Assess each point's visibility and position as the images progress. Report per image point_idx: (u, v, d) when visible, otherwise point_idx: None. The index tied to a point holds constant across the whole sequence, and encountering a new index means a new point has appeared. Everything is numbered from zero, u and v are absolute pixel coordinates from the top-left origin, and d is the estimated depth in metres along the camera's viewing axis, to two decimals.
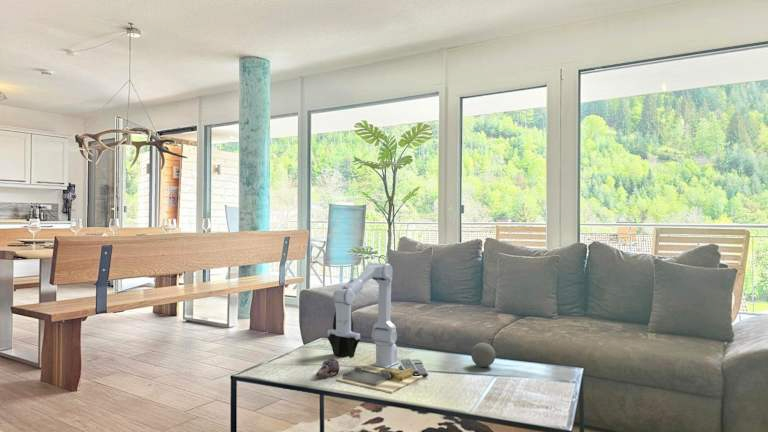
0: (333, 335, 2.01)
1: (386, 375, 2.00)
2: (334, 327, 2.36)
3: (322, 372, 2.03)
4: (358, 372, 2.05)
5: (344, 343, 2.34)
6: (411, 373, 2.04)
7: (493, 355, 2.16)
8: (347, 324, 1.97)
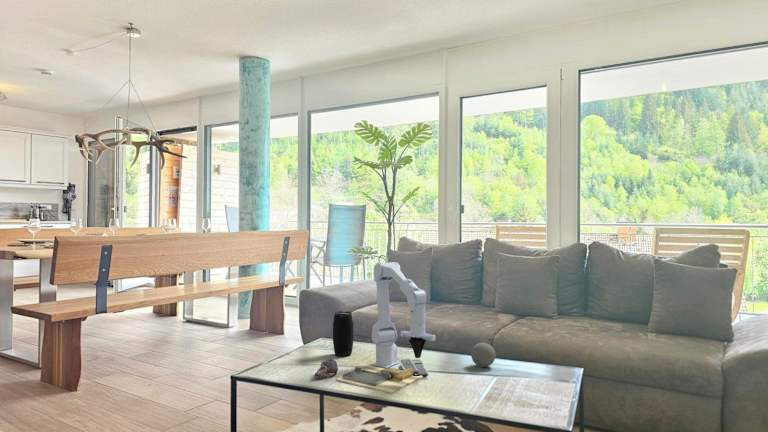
0: None
1: (386, 375, 2.00)
2: (334, 327, 2.36)
3: (321, 373, 2.02)
4: (358, 372, 2.05)
5: (344, 343, 2.34)
6: (411, 373, 2.04)
7: (493, 355, 2.16)
8: (422, 325, 1.97)
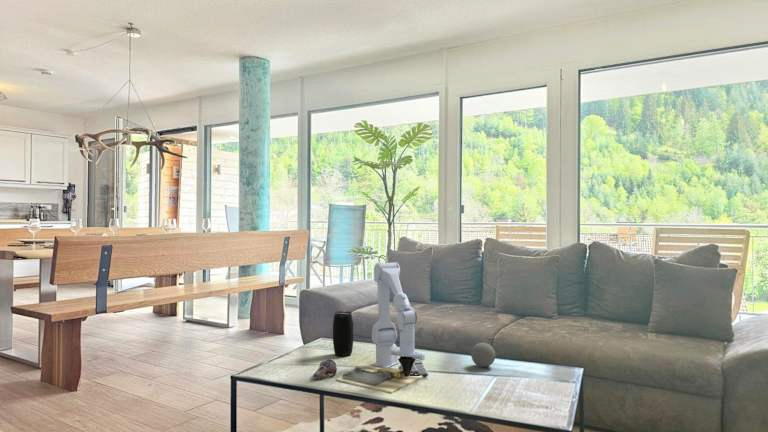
0: (396, 355, 2.04)
1: (386, 375, 2.00)
2: (334, 327, 2.36)
3: (319, 373, 2.02)
4: (358, 372, 2.05)
5: (344, 343, 2.34)
6: None
7: (493, 355, 2.16)
8: (411, 345, 2.00)
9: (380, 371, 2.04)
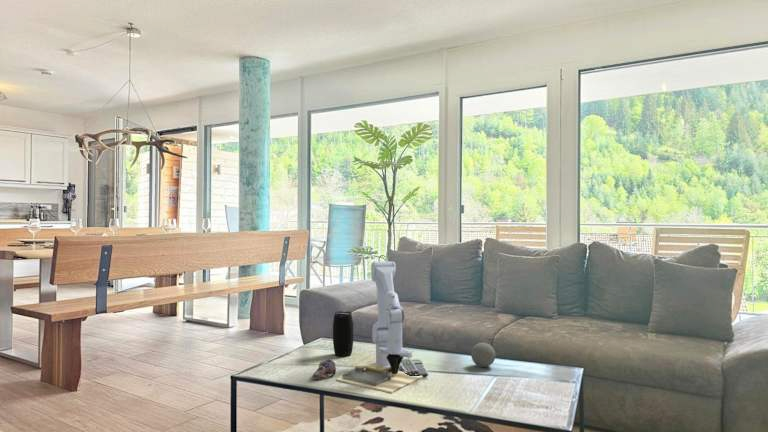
0: (384, 353, 2.07)
1: (386, 375, 2.00)
2: (334, 327, 2.36)
3: (319, 373, 2.01)
4: (358, 372, 2.05)
5: (344, 343, 2.34)
6: None
7: (493, 355, 2.16)
8: (399, 343, 2.03)
9: (368, 369, 2.07)
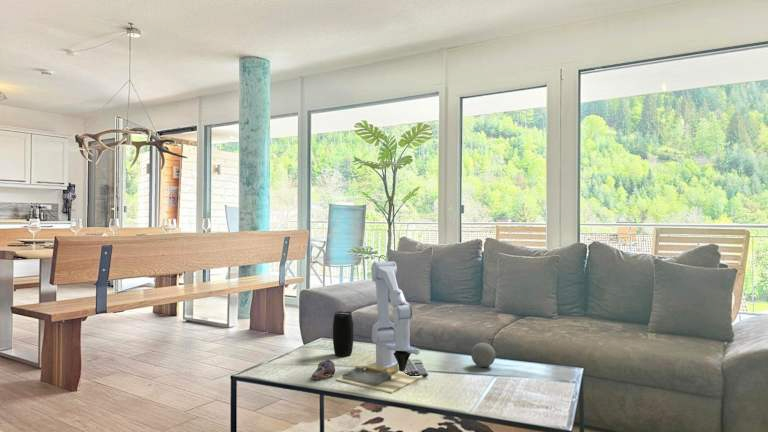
0: (391, 350, 2.05)
1: (386, 375, 2.00)
2: (334, 327, 2.36)
3: (318, 374, 2.01)
4: (358, 372, 2.05)
5: (344, 343, 2.34)
6: (395, 370, 2.08)
7: (493, 355, 2.16)
8: (406, 339, 2.01)
9: (368, 369, 2.07)
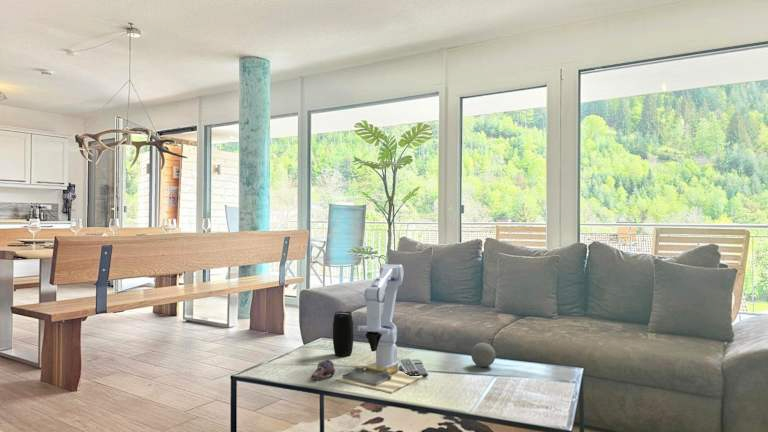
0: None
1: (386, 375, 2.00)
2: (334, 327, 2.36)
3: (317, 374, 2.01)
4: (358, 372, 2.05)
5: (344, 343, 2.34)
6: (395, 370, 2.08)
7: (493, 355, 2.16)
8: (377, 320, 2.07)
9: (368, 369, 2.07)
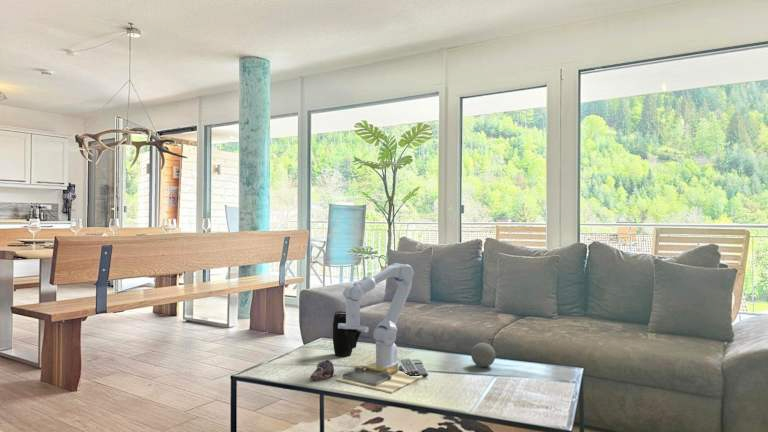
0: (343, 328, 2.16)
1: (386, 375, 2.00)
2: (334, 327, 2.36)
3: (317, 374, 2.00)
4: (358, 372, 2.05)
5: (344, 343, 2.34)
6: (395, 370, 2.08)
7: (493, 355, 2.16)
8: (356, 318, 2.12)
9: (368, 369, 2.07)
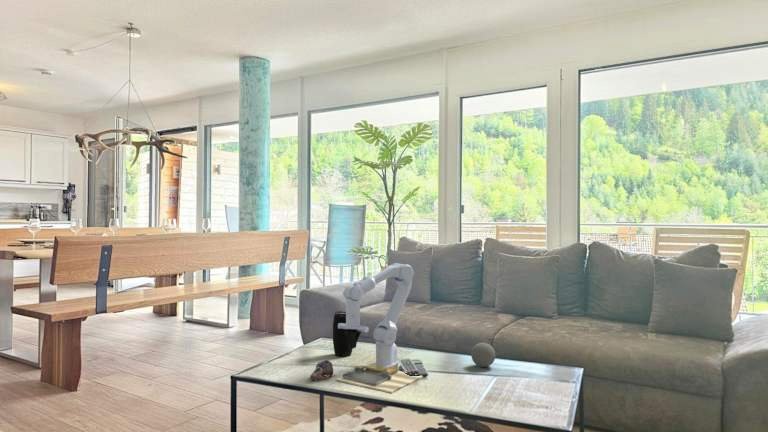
0: (343, 328, 2.16)
1: (386, 375, 2.00)
2: (334, 327, 2.36)
3: (316, 374, 2.00)
4: (358, 372, 2.05)
5: (344, 343, 2.34)
6: (395, 370, 2.08)
7: (493, 355, 2.16)
8: (356, 318, 2.12)
9: (368, 369, 2.07)
